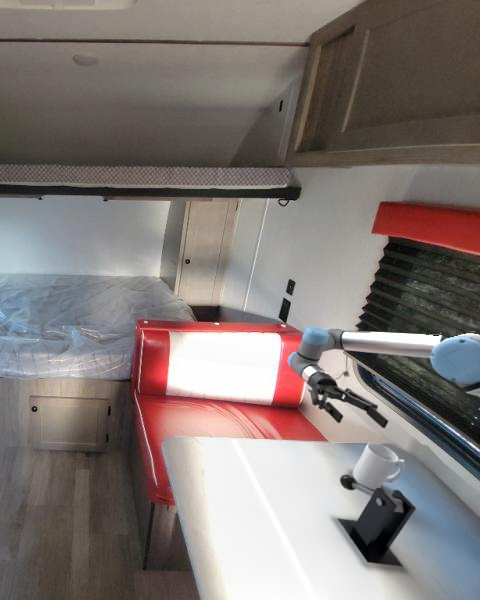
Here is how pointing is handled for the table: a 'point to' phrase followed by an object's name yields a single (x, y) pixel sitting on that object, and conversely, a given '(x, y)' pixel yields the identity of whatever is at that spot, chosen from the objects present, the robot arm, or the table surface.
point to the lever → (366, 490)
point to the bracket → (379, 527)
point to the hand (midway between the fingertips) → (363, 421)
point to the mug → (377, 466)
